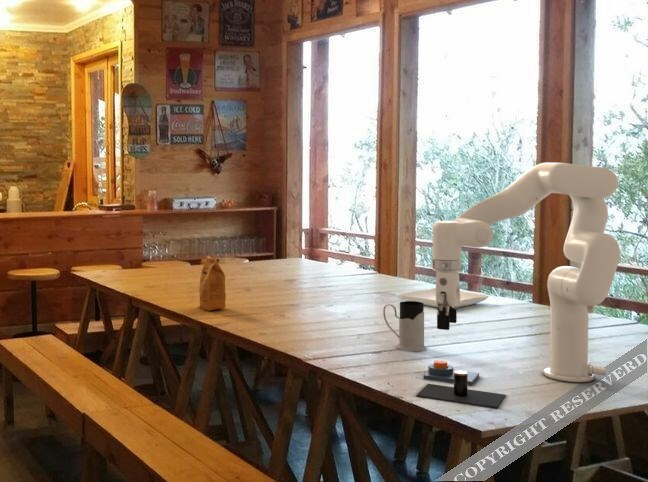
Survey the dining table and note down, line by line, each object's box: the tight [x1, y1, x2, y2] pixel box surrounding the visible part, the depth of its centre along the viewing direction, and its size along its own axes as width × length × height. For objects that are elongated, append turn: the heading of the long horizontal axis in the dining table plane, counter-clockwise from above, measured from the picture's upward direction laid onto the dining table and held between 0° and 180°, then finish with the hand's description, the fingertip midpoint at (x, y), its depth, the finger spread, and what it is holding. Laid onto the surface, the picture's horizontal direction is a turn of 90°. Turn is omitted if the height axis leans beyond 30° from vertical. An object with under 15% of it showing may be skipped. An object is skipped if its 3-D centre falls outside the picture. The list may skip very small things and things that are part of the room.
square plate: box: [396, 287, 490, 309], centre depth 336 cm, size 27×27×4 cm
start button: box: [433, 359, 448, 369], centre depth 228 cm, size 4×4×2 cm
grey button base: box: [423, 363, 480, 387], centre depth 226 cm, size 13×10×3 cm
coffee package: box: [198, 255, 227, 312], centre depth 334 cm, size 10×12×22 cm
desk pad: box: [416, 383, 507, 410], centre depth 210 cm, size 20×12×1 cm, turn 56°
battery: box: [453, 370, 469, 397], centre depth 210 cm, size 3×3×6 cm
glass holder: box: [382, 300, 427, 352], centre depth 263 cm, size 9×14×15 cm, turn 48°
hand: (446, 325), depth 221 cm, fingers open, 9 cm apart
